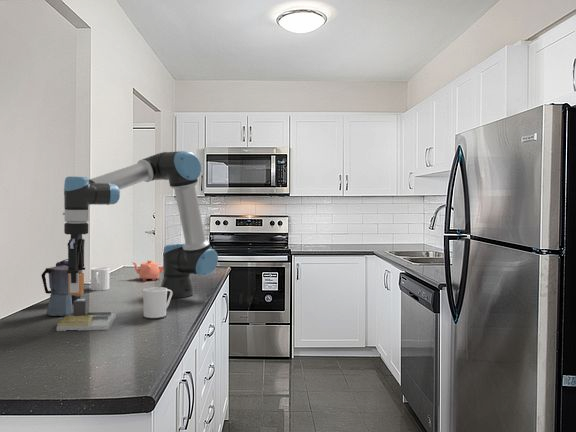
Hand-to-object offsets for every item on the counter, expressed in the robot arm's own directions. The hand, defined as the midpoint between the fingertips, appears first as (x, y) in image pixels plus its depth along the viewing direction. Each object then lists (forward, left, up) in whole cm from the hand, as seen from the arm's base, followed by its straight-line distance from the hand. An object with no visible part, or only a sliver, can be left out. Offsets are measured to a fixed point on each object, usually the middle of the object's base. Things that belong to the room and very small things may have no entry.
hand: (76, 290), depth 173 cm
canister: (+12, -39, -13) cm, 43 cm away
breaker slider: (0, -8, -11) cm, 13 cm away
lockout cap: (0, 0, -1) cm, 1 cm away
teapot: (-15, -93, -13) cm, 95 cm away
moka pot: (+10, -18, -13) cm, 24 cm away
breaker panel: (-3, -4, -12) cm, 13 cm away
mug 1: (+5, -66, -13) cm, 67 cm away
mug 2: (-26, -12, -13) cm, 31 cm away
